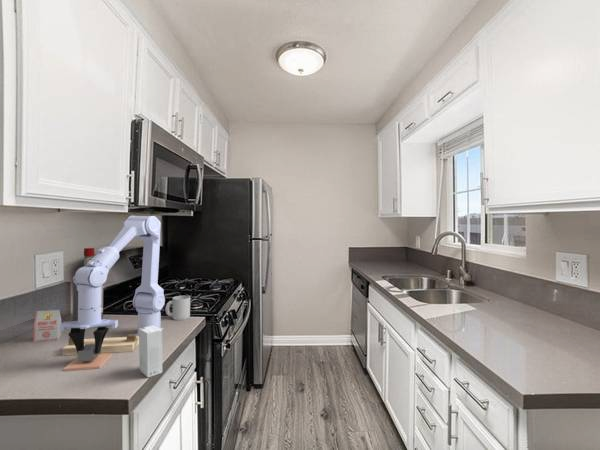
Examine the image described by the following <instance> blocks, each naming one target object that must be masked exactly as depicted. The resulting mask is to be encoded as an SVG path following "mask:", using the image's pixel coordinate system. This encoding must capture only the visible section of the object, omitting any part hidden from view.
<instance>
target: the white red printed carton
mask: <svg viewBox="0 0 600 450" xmlns="http://www.w3.org/2000/svg"><path fill="white" fill-rule="evenodd" d="M61 323H62V316H61V310H60V309H51V310H38V311H35V316H34V322H33V326H32V327H33V332H32V334H33V335H32V336H33V337H32V338H33V339H32V340H33V341H41V342H46V341H45V340H51V341H58V340H59V339H60V338H61V337H62V331H60V324H61ZM33 341H32V342H33Z"/></svg>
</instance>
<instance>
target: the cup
mask: <svg viewBox="0 0 600 450" xmlns="http://www.w3.org/2000/svg"><path fill="white" fill-rule="evenodd" d="M171 305H172V312H171V310H170V306H171ZM165 313H166V315H167V316H168V317H171V318H172V319H173V320H174V321H186V320H188V319H190V317H191V296H190V295H176V296H173V297H172V300H169V301H168V302H166V305H165Z"/></svg>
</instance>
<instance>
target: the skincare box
mask: <svg viewBox="0 0 600 450" xmlns="http://www.w3.org/2000/svg"><path fill="white" fill-rule="evenodd" d="M138 346H139V347H138V348H139V354H138V355H139V371H140V372H141V373H142V374H143V375H144V376H146V378H151V377H155V376H157V375H160V374H162V373H163V330H160V329H159V328H157V327H155V326H154V325H152V326H148V327H144V328H140V329H139V344H138Z"/></svg>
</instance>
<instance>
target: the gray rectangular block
mask: <svg viewBox="0 0 600 450" xmlns="http://www.w3.org/2000/svg"><path fill="white" fill-rule="evenodd" d="M99 354H102V353H101V351H100V352H99V353H98V354H95V344H86V345H85V346H83V347H82V348H81V349H80V350H79V351H78V355H77V357H78V361H93V360H94V359H95V358H96V357H97V356H98V355H99Z"/></svg>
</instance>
